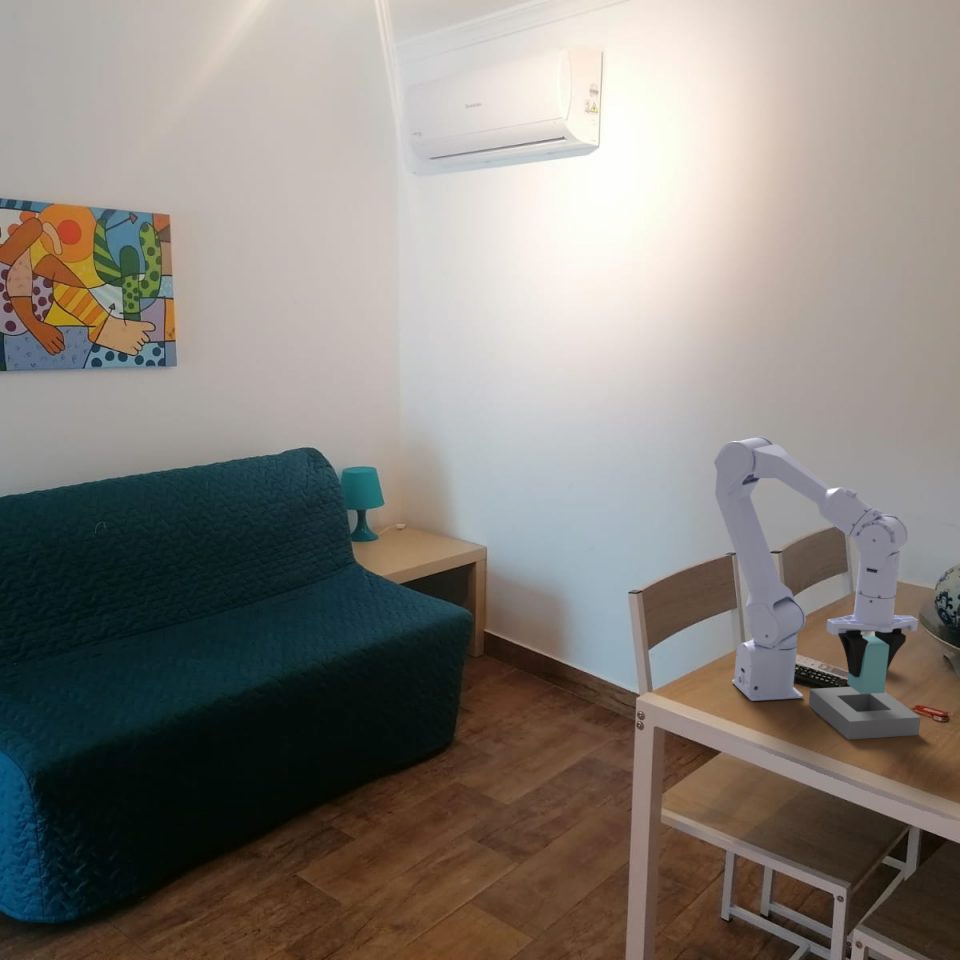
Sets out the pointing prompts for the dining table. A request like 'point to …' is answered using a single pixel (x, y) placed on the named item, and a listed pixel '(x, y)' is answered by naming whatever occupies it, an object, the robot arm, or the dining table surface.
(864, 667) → the peg
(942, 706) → the dining table surface
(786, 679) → the robot arm
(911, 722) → the socket block
